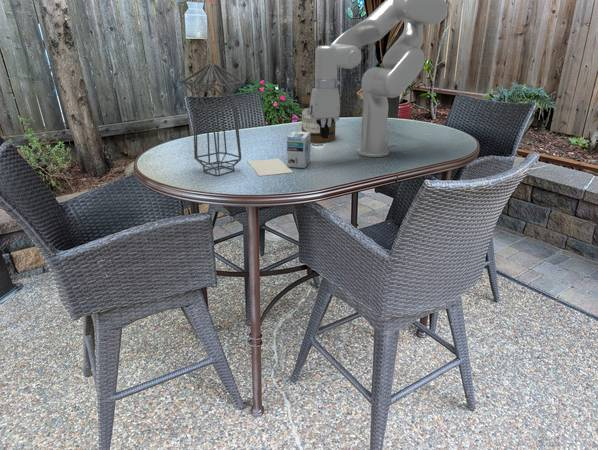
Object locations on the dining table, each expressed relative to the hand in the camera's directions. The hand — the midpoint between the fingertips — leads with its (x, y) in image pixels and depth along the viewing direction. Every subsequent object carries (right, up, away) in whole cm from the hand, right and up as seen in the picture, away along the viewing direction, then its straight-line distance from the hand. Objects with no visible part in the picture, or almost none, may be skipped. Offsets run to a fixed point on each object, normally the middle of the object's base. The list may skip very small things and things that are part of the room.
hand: (324, 137), depth 154 cm
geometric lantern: (-36, -13, -6) cm, 39 cm away
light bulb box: (-9, -10, +1) cm, 13 cm away
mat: (-20, -11, -2) cm, 23 cm away
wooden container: (0, +7, +36) cm, 37 cm away
